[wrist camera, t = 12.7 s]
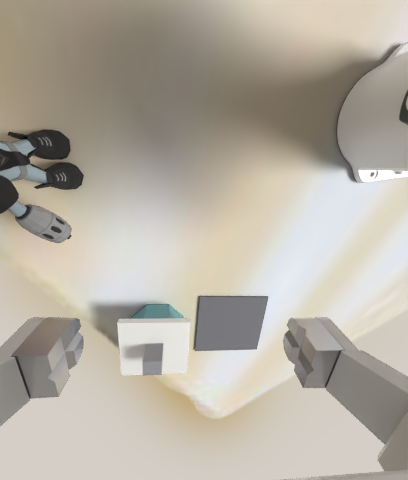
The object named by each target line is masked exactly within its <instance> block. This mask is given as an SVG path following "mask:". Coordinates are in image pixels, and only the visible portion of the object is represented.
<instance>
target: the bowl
mask: <svg viewBox="0 0 408 480" xmlns="http://www.w3.org/2000/svg"><path fill="white" fill-rule="evenodd" d="M158 318H183V316H182V315H181V314H180V313H179V312H178V311H176V310H175V309H174V308H173V307H172V306H170V305H169V304H147V305H146V306H145V307H144V308H142V309H141V310H140V311H139V312H137V313H136V314H135V315H134V316H133V317H132V319H158Z"/></svg>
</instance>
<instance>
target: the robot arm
mask: <svg viewBox="0 0 408 480" xmlns="http://www.w3.org/2000/svg"><path fill="white" fill-rule="evenodd" d="M337 138H338V144H339V147H340V150H341V152H342V154H343V156H344V157H345V159H346V160H347V161H348V162H349V163H350V165H351V166H352V169H353V173H354V177H355V179H356V181H357V182H359V183H365V182H373V181H381V180H388V179H396V178H403V177H408V42H407V43H404V44H402V45H400V46H399V47H397V48H396V49H395V51H394V52H393V53H392V54H391V55H390V56H389V57H388V59H387V60H386V61H385V62H384V63H383V64H381V65H380V66H378V67H376V68H374V69H373V70H371V71H370V72H368V73H367V74H366V75H364V76H363V77H362V78H361V79H360V80H359V81H358V82H357V83H356V84H355V86H354V87H353V88H352V90H351V91H350V93H349V94H348V96H347V98H346V99H345V102H344V104H343V106H342V109H341V112H340V115H339V119H338V126H337ZM370 173H371V175H370ZM287 326H288V328H289V331H288V332H286V333H285V335H284V340H283V343H284V350H285V353H286V355H287V357H288V359H289V360H290V361H291V362H292V363H294V364H295V368H294V371H295V373H296V375H297V377H298V379H299V380H300V383H301V385H302V386H303V388H326V390H327V391H328V392H329V393H330V394H331V395H332V396H333V397H335V398H336V399H337V400H338V401H339V402H340V403H341V404H342V405H343V406H344V407H345V408H346V409H347V410H349V411H350V412H351V413H352V414H353V415H354V416H355V417H356V418H357V419H358V420H359V421H360V422H361V423H362V424H364V425H365V426H366V427H367V428H368V429H369V430H370V431H371V432H372V433H373V434H374V435H375V436H376V437H377V438H378V439H380V440H381V441H382V442H383V443H384V444H385V446H384V447H383V449H382V450H381V452H380V453H379V455H378V461H379V463H380V464H381V466H382V468H383V469H384V471H383V472H370V473H358V474H346V475H333V476H321V477H309V478H296V479H284V480H408V377H407V376H406V375H404V374H402V373H400V372H399V371H397V370H395V369H394V368H392V367H390V366H388V365H387V364H385V363H383V362H381V361H380V360H378V359H376V358H375V357H373V356H371V355H370V354H368V353H366V352H364V351H359V350H358V349H357V348H356V347H355V346H354V345H353V344H352V342H351V341H350V340H349V339H348V338H347V337H346V336H345V335H344V334H343V333H342V332H341V330H340V329H339V328H338V327H337V326H336V325H335V324H334V323H333V322H332V321H331V320H330V319H329V318H327V317H315V318H290V319H289V321H288V324H287ZM80 327H81V325H80V320H79V319H77V318H52V317H49V318H39V317H33V318H31V319H28V320H27V321H26V322H25V323H24V324H23V325H22V326H21V327H20V328H19V329H18V330H17V331H16V332H15V333H14V334H13V335H12V336H11V337H10V338H9V339H8V340H7V341H6V342H5V343H4V344H3V345H2V346H1V347H0V426H1V425H2V424H3V423H5V422H6V421H7V420H8V419H9V418H10V417H11V416H12V415H14V414H15V413H16V412H17V411H18V410H19V409H21V408H22V407H23V406H24V405H25V404H26V403H27V402H28V401H30V399H31V398H46V397H59V395H60V393H61V392H62V390H63V388H64V386H65V384H66V383H67V381H68V379H69V377H70V374H69V369H71V368H72V367H73V366H75V365H76V364H77V362H78V360H79V359H80V357H81V353H82V350H83V336H82V335H81V334H80V333H79V332H78V330H79V329H80Z"/></svg>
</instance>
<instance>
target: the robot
mask: <svg viewBox="0 0 408 480" xmlns="http://www.w3.org/2000/svg"><path fill="white" fill-rule="evenodd" d="M8 135H9V136H12V137H15V138H17V139H20V140H19V141H16V142H12V143H9V142H5V141H0V214H1V213H3V212H5V211H6V210H8V209H9V210H10V211H11V212H12V213H13V214H14V215H15V219H16V221H17V222H18V223H19V224H20V225H21V226H22V227H23V228H25V229H26V230H28V231H29V232H31V233H33V234H34V235H37V236H39V237H41V238H43V239H46V240H48V241H51V242H55V243H61V242H63V241H65V240H66V239H69V238H70V237H71V235H70V234H71V227H70V225H69V224H68V223H67V222H66V221H65V220H63V219H62V218H61V217H59V216H57V215H56V214H54V213H53V212H50V211H48V210H46V209H44V208H42V207H39V206H35V205H30V204H29V205H22V204H21V203H19V202H18V201H17V200H18V198H19V196H18V192H17V190H16V188H15V187H14V185H13V184H12V183H11V181H16V180H20V179H26V180H30V181H35V182H39V183H43V184H40V185H38V186H35V187H34V188H36V189H39V188H44V187H49V186H51V187H55V188H58V189H64V190H69V189H76V188H78V187H79V186H80V185H82V180H83V176H84V175H83V174H82V173H81V171H80V170H79V169H78V167H77V166H75V165H73V164H71V163H58V164H55V165H53V166H51V167H49V168H47V169H41V168H39V167H37V166H35V165H33V164H30V160H29V158H30V157H31V156H32V155H36V156H38V157H40V158H43V159H49V160H54V159H64V158H67V156H68V155H69V153H70V142H69V139H68V138H67V137H65V136H64V135H63V134H62V133H61V132H60V131H54V130H41V131H37V132H33V133H30V134H28V135H24V134H18V133H13V132H9V133H8ZM26 154H28V156H26Z"/></svg>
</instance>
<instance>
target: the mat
mask: <svg viewBox="0 0 408 480" xmlns="http://www.w3.org/2000/svg"><path fill="white" fill-rule="evenodd" d="M267 301H268V296H200V299H199V311H198V322H197V333H196V345H195V351H213V350H248V349H257V345H258V341H259V337H260V332H261V328H262V323H263V319H264V314H265V310H266V305H267Z"/></svg>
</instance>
